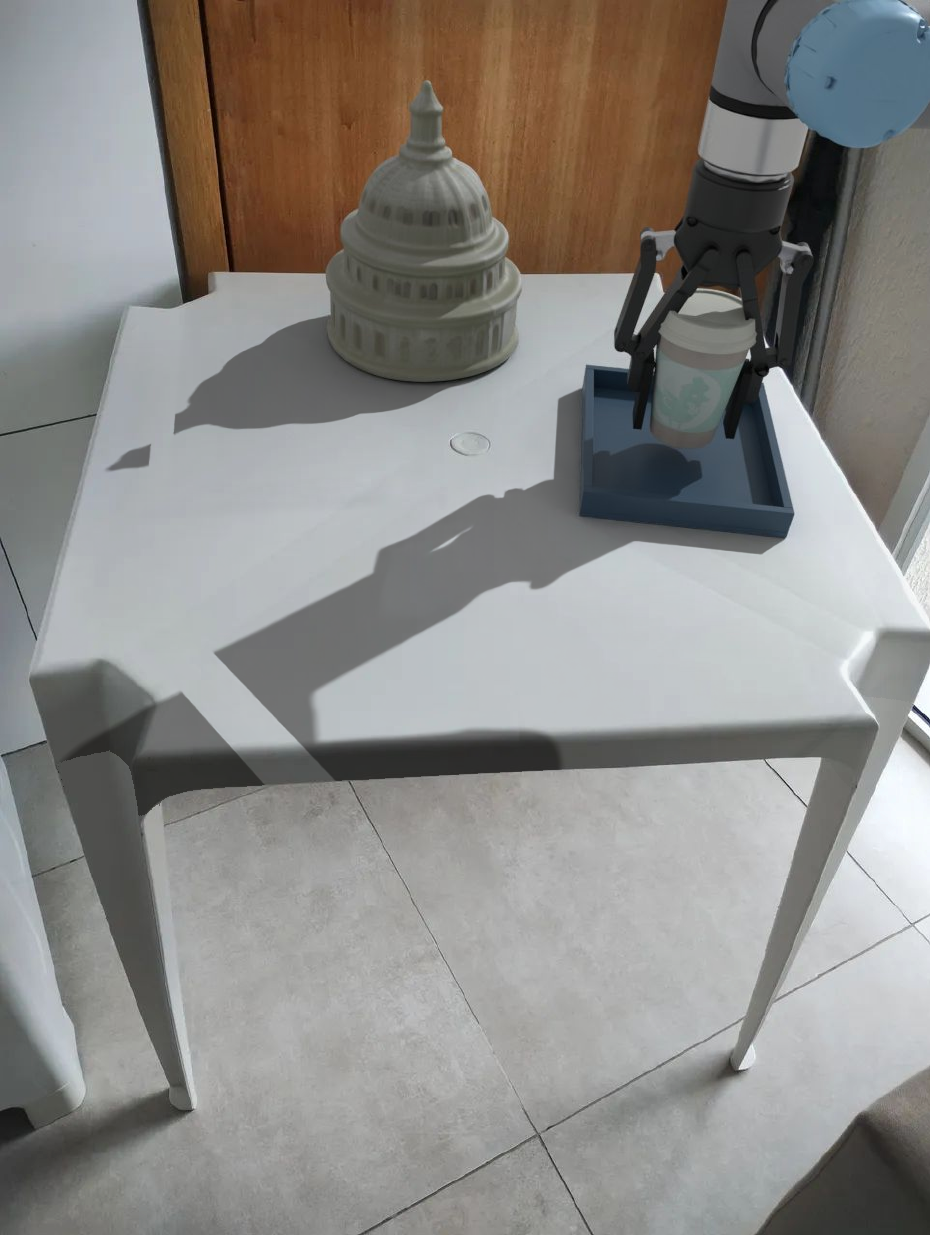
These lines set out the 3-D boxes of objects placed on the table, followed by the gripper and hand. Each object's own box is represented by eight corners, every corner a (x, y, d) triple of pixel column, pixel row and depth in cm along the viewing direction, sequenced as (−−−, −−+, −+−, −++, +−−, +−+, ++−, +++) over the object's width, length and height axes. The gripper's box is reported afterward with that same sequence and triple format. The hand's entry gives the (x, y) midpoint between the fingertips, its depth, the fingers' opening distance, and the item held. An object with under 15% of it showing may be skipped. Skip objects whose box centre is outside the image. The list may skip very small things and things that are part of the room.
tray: (786, 538, 85) (794, 513, 83) (579, 516, 85) (583, 491, 84) (756, 405, 101) (763, 382, 99) (582, 387, 101) (585, 364, 99)
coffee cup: (615, 426, 91) (638, 302, 83) (675, 397, 96) (702, 276, 87) (688, 469, 87) (720, 342, 79) (747, 437, 91) (783, 313, 83)
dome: (565, 117, 84) (324, 116, 81) (534, 381, 101) (334, 388, 98) (517, 51, 99) (310, 47, 95) (497, 292, 116) (321, 296, 112)
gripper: (872, 160, 78) (790, 415, 93) (609, 135, 78) (570, 393, 94) (893, 195, 72) (802, 461, 88) (609, 168, 73) (569, 436, 88)
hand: (682, 425), depth 91 cm, fingers closed on coffee cup, 8 cm apart
